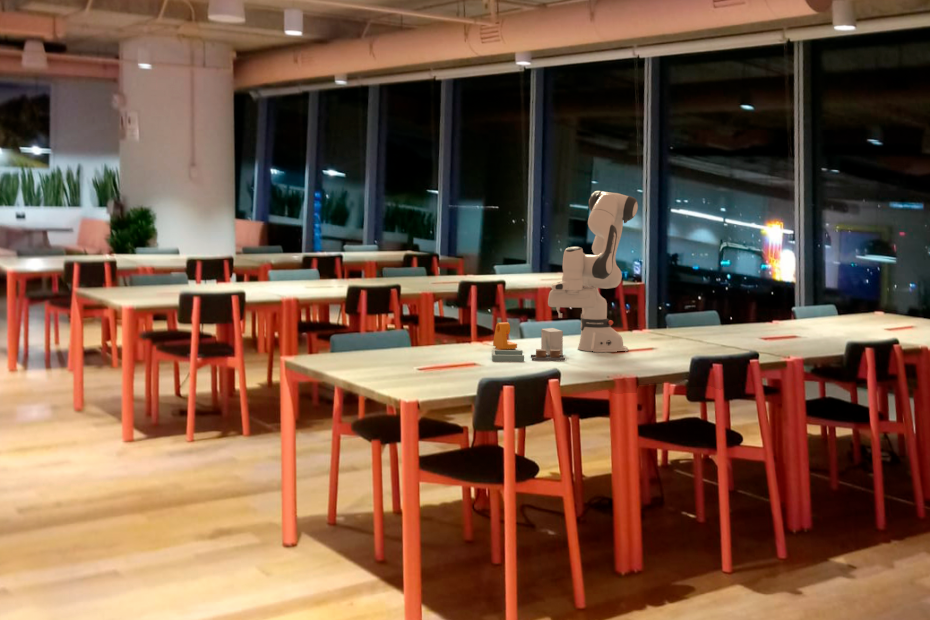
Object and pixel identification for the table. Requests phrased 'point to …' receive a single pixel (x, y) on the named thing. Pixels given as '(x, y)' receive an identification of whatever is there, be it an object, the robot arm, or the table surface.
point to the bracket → (503, 337)
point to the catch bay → (507, 355)
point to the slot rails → (548, 358)
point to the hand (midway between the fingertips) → (571, 318)
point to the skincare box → (552, 340)
